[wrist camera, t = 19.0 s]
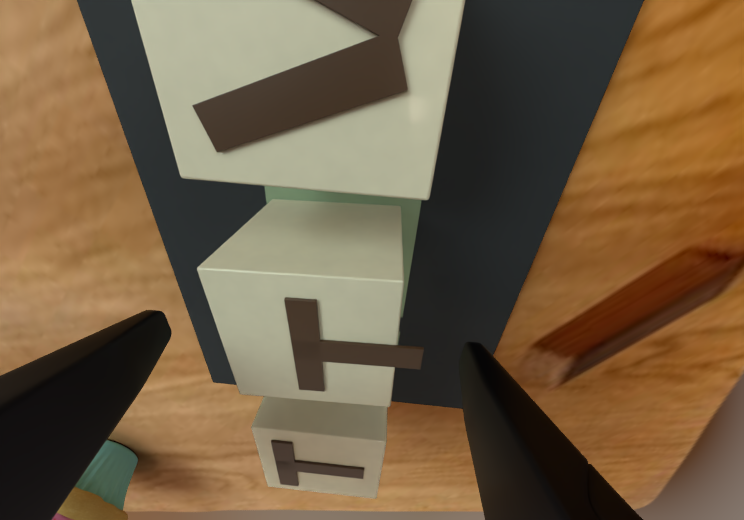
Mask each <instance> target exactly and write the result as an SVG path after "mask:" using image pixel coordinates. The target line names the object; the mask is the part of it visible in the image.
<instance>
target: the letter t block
mask: <svg viewBox="0 0 744 520" xmlns="http://www.w3.org/2000/svg"><path fill="white" fill-rule="evenodd" d="M197 271H198V274H199V277H200V280H201V283H202V286H203V288H204V291H205V294H206V297H207V300H208V303H209V306H210V309H211V312H212V314H213V317H214V320H215V323H216V326H217V329H218V332H219V335H220V338H221V340H222V343H223V346H224V349H225V352H226V355H227V358H228V361H229V364H230V367H231V369H232V372H233V375H234V378H235V381H236V384H237V387H238V390H239V393H240V394H244V395H256V396H267V397H279V398H291V399H303V400H315V401H326V402H338V403H350V404H362V405H373V406H385V407H390V406H391V398H392V389H393V380H394V371H395V367H397V368H409V369H420V368H421V363H422V357H423V352H424V347H415V346H402V345H397V343H398V334H399V325H400V316H401V307H402V298H403V288H404V267H403V245H402V223H401V207H400V206H392V205H373V204H355V203H336V202H317V201H298V200H280V199H272V200H271V201H270V202H269V203H268V204H267V205H266V206H264V207H263V208H262V209H261V210H260V211H259V212H258V213H257V214H256V215H255V216H253V217H252V218H251V219H250V220H249V221H248V222H247V223H246V224H245V225H244V226H242V227H241V228H240V229H239V230H238V231H237V232H236V233H235V234H234V235H233V236H231V237H230V238H229V239H228V240H227V241H226V242H225V243H224V244H223V245H222V246H220V247H219V248H218V249H217V250H216V251H215V252H214V253H213V254H212V255H211V256H209V257H208V258H207V259H206V260H205V261H204V262H203V263H202V264H201V265H200V266H198V267H197Z"/></svg>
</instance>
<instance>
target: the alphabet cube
mask: <svg viewBox="0 0 744 520" xmlns="http://www.w3.org/2000/svg"><path fill="white" fill-rule="evenodd" d="M251 428H252V432H253V435H254V439H255V442H256V446H257V449H258V453H259V456H260V460H261V463H262V467H263V471H264V474H265V478H266V481H267V485H268V486H269V487H278V488H286V489H295V490H304V491H313V492H321V493H330V494H339V495H347V496H356V497H365V498H374V499H376V498H377V492H378V486H379V481H380V475H381V470H382V464H383V458H384V453H385V447H386V442H387V407H385V406H373V405H362V404H350V403H338V402H326V401H315V400H303V399H291V398H279V397H267V396H264V398H263V400H262V403H261V405H260V407H259V410H258V412H257V414H256V417H255V419H254V421H253V424H252V426H251Z"/></svg>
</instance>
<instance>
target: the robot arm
mask: <svg viewBox="0 0 744 520" xmlns="http://www.w3.org/2000/svg"><path fill="white" fill-rule="evenodd" d="M170 337H171V329H170V326H169V324H168V321H167V319H166V317H165V314H164V313H163V312H162V311H155V310H146V311H143V312H141V313H139V314H136V315H134V316H132V317H130V318H127V319H125V320H123V321H121V322H119V323H116V324H114V325H112V326H110V327H108V328H105V329H103V330H101V331H99V332H96V333H94V334H92V335H90V336H88V337H85V338H83V339H81V340H79V341H77V342H74V343H72V344H70V345H68V346H65V347H63V348H61V349H59V350H57V351H54V352H52V353H50V354H48V355H46V356H43V357H41V358H39V359H37V360H35V361H32V362H30V363H28V364H26V365H23V366H21V367H19V368H17V369H15V370H12V371H10V372H8V373H6V374H4V375H1V376H0V520H52V519H53V517H54V516H55V514H56V513H57V511H58V510H59V508H60V507H61V506H62V504H63V503H64V501H65V500H66V498H67V497H68V495H69V494H70V492H71V491H72V490H73V488H74V487H75V485H76V484H77V482H78V481H79V479H80V478H81V476H82V475H83V474H84V472H85V471H86V469H87V468H88V466H89V465H90V463H91V462H92V460H93V459H94V458H95V456H96V455H97V453H98V452H99V450H100V449H101V447H102V446H103V444H104V443H105V442H106V440H107V439H108V437H109V436H110V434H111V433H112V431H113V430H114V428H115V427H116V426H117V424H118V423H119V421H120V420H121V418H122V417H123V415H124V414H125V412H126V411H127V410H128V408H129V407H130V405H131V404H132V402H133V401H134V399H135V398H136V396H137V395H138V394H139V392H140V390H141V389H142V387H143V386H144V384H145V382H146V381H147V379H148V377H149V376H150V374H151V372H152V370H153V368H154V367H155V365H156V363H157V361H158V359H159V358H160V356H161V354H162V352H163V351H164V349H165V347H166V345H167V343H168V342H169V340H170ZM459 374H460V384H461V394H462V403H463V413H464V421H465V426H466V431H467V436H468V441H469V446H470V450H471V455H472V460H473V464H474V469H475V474H476V478H477V483H478V488H479V492H480V497H481V502H482V507H483V511H484V516H485V520H643V519H642V518H641V517H640V516H639V515H638V514H637V513H636V512H635V511H634V510H633V509H632V508H631V507H630V506H629V505H628V504H627V503H626V501H625V500H624V499H623V498H622V497H621V496H620V495H619V494H618V493H617V492H616V491H615V490H614V489H613V488H612V487H611V485H610V484H609V483H608V482H607V481H606V480H605V479H604V478H603V477H602V476H601V475H600V473H599V472H598V471H597V470H596V469H595V468H594V467H593V466H592V465H591V464H588V461H587V459H586V458H585V457H584V456H583V455H582V454H581V453H580V452H579V450H578V449H577V448H576V447H575V446H574V445H573V444H572V443H571V442H570V441H569V439H568V438H567V437H566V436H565V435H564V434H563V433H562V432H561V431H560V430H559V428H558V427H557V426H556V425H555V424H554V423H553V422H552V421H551V420H550V418H549V417H548V416H547V415H546V414H545V413H544V412H543V411H542V410H541V409H540V407H539V406H538V405H537V404H536V403H535V402H534V401H533V400H532V399H531V398H530V396H529V395H528V394H527V393H526V392H525V391H524V390H523V389H522V388H521V387H520V385H519V384H518V383H517V382H516V381H515V380H514V379H513V378H512V377H511V375H510V374H509V373H508V372H507V371H506V370H505V369H504V368H503V367H502V366H501V364H500V363H499V362H498V361H497V360H496V359H495V358H494V357H493V356H492V355H491V353H490V352H489V351H488V350H487V349H486V348H485V347H484V346H483V345H482V344H481V343H477V342H466V343H465V345H464V348H463V351H462V354H461V357H460V360H459Z"/></svg>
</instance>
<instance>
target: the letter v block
mask: <svg viewBox="0 0 744 520" xmlns="http://www.w3.org/2000/svg"><path fill="white" fill-rule="evenodd" d="M131 1H132V5H133V8H134V12H135V16H136V19H137V23H138V26H139V30H140V33H141V37H142V41H143V44H144V48H145V51H146V55H147V58H148V62H149V66H150V69H151V73H152V76H153V80H154V83H155V87H156V91H157V94H158V98H159V101H160V105H161V108H162V112H163V116H164V119H165V123H166V126H167V130H168V133H169V137H170V141H171V144H172V148H173V151H174V155H175V158H176V162H177V166H178V169H179V173H180V176H181V177H182V178H185V179H194V180H206V181H217V182H228V183H239V184H250V185H261V186H272V187H283V188H294V189H305V190H316V191H327V192H338V193H349V194H360V195H371V196H383V197H394V198H405V199H416V200H428V199H429V197H430V193H431V187H432V182H433V176H434V171H435V165H436V160H437V154H438V148H439V143H440V137H441V132H442V126H443V121H444V115H445V110H446V104H447V99H448V93H449V88H450V82H451V77H452V71H453V66H454V60H455V54H456V49H457V43H458V38H459V32H460V27H461V21H462V16H463V10H464V5H465V0H131Z"/></svg>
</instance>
